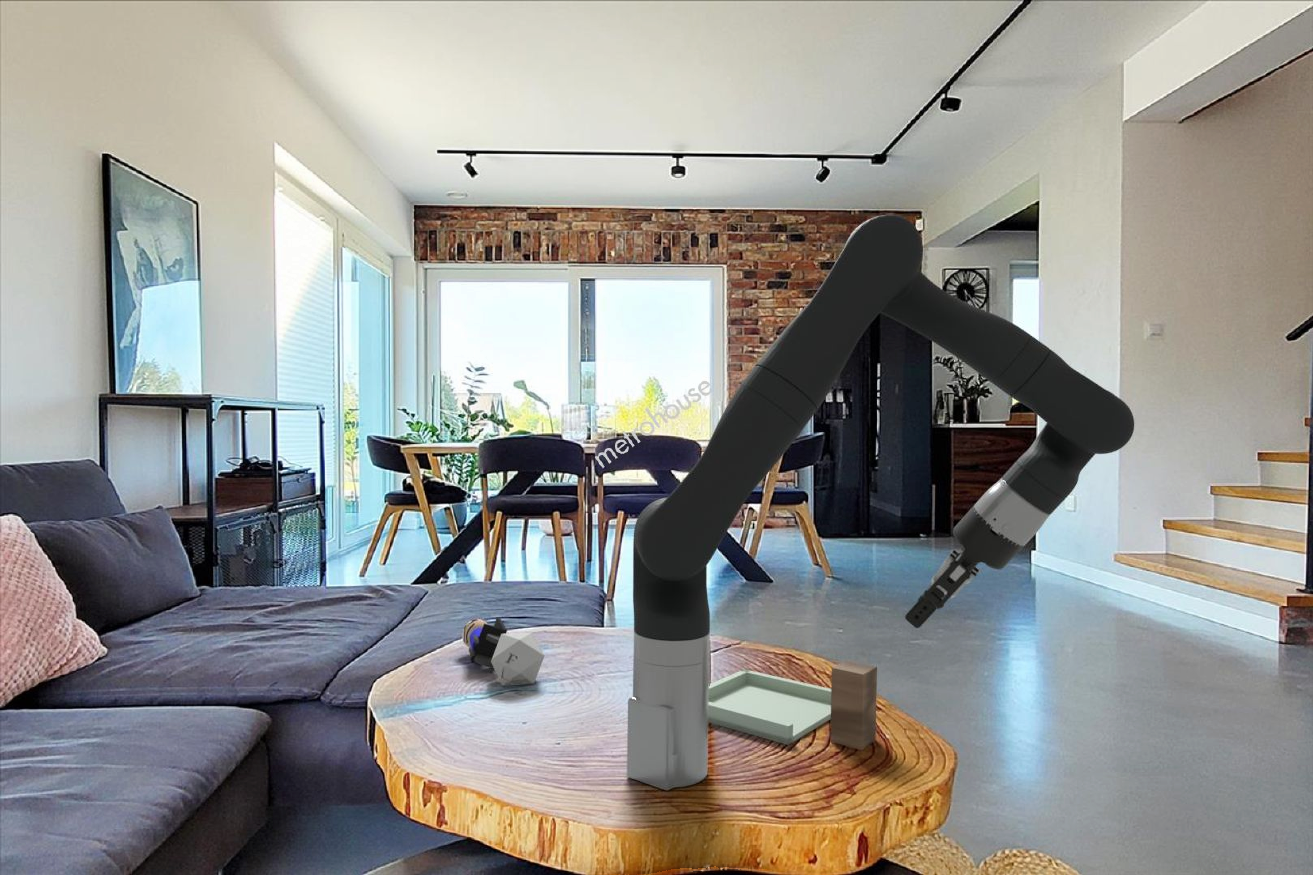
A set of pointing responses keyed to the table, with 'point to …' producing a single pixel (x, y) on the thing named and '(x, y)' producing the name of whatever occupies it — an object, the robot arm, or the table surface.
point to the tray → (768, 705)
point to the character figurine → (482, 640)
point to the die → (517, 659)
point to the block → (853, 704)
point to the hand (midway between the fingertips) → (917, 614)
